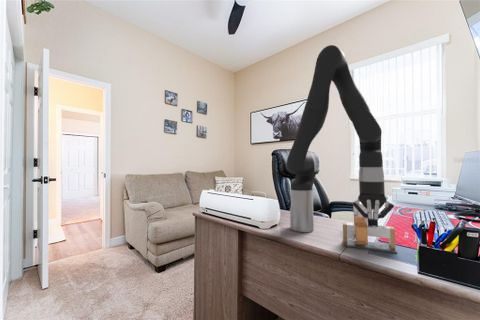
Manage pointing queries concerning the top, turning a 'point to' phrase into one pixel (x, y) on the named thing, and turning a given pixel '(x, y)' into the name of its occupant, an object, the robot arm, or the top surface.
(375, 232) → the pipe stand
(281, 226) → the top surface
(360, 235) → the tan cardboard carton
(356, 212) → the ink cartridge box
